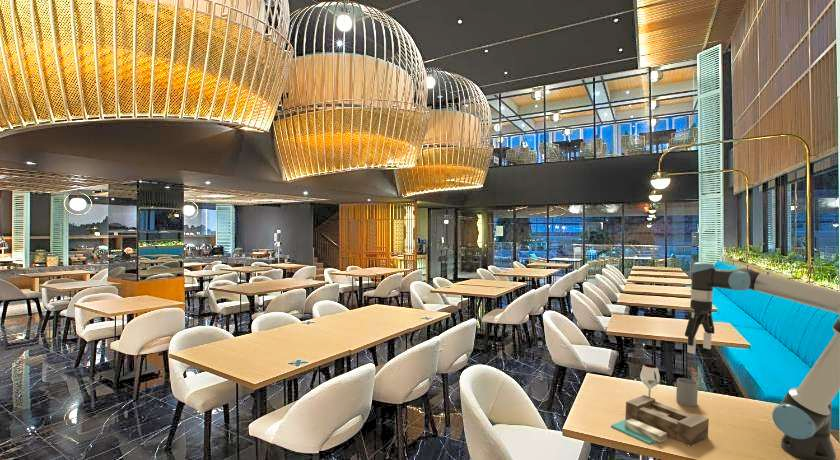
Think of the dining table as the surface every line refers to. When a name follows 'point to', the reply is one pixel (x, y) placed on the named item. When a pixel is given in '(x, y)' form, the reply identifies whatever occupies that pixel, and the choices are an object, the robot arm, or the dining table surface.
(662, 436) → the tile
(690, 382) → the cup
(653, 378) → the wineglass
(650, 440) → the mat
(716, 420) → the dining table surface
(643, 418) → the cradle
